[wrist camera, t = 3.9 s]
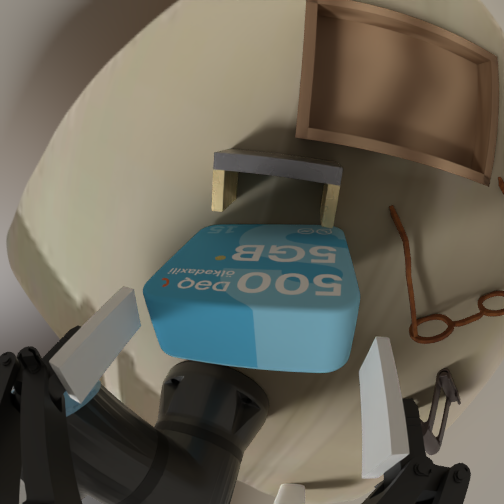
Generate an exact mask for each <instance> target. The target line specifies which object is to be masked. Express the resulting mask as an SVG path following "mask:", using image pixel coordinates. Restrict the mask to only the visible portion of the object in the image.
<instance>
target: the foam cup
mask: <svg viewBox="0 0 504 504" xmlns="http://www.w3.org/2000/svg"><path fill="white" fill-rule="evenodd" d="M274 504H305V486H304V485H300V484H293V483H287V484H282V485H281V486H280V488H279V491H278V494H277V497H276V499H275V502H274Z"/></svg>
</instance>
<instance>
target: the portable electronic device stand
mask: <svg viewBox="0 0 504 504" xmlns="http://www.w3.org/2000/svg"><path fill="white" fill-rule="evenodd" d="M441 387H442V388H443V390H444V392H445V394H446V403H445V408H444V414H443V418H442V423H441V428H440V432H439V435H438V436H437V437H435V436H434V435H433V433H432V428H433V424H434V420H435V415H436V411H437V406H438V400H439V395H440V389H441ZM455 401H457V402H458V404H459V405H460V404H461V402H460V397H459V394H458V391H457V389H456V386H455V383H454V381H453V378H452V376H451V373H450V371H449V370H448V369H442V370H440V371H439V372H438V374H437V378H436V384H435V390H434V395H433V400H432V405H431V410H430V414H429V418H428V420H427V421H426V422H423V421H422V420H421V419H420V418H419V419H420V421H421V427H422V433H423V439H424V446H425V451H426V452H427V453H428V454H429V455H433V454H436V453H437V452H438V451H439V449H440V447H441V444H442V439H443V435H444V431H445V426H446V422H447V417H448V411H449V406H450V405H451V402H455Z"/></svg>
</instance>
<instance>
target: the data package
mask: <svg viewBox="0 0 504 504" xmlns="http://www.w3.org/2000/svg"><path fill="white" fill-rule="evenodd" d="M143 295H144V298H145V301H146V305H147V308H148V311H149V314H150V318H151V321H152V324H153V327H154V330H155V333H156V336H157V338H158V341H159V344H160V347H161V349H162V350H163V351H164V352H165V353H166V354H168V355H170V356H172V357H177V358H182V359H188V360H193V361H200V362H206V363H212V364H219V365H227V366H235V367H243V368H253V369H263V370H275V371H289V372H308V373H328V372H332V371H335V370H337V369H339V368H341V367H342V366H343V365H344V364H345V363H346V362H347V361H348V359H349V356H350V352H351V347H352V342H353V337H354V332H355V327H356V321H357V316H358V310H359V304H360V291H359V287H358V283H357V279H356V275H355V271H354V267H353V263H352V260H351V256H350V252H349V249H348V245H347V242H346V238H345V235H344V232H343V231H342V230H341V229H339V228H337V227H334V226H333V228H327V227H321V225H291V224H220V225H212V226H208V227H205V228H203V229H201V230H200V231H199V232H198V233H197V234H196V235H194V236H193V237H192V238H191V239H190V240H189V241H188V242H187V243H186V244H185V245H184V246H183V247H182V248H181V249H180V250H179V251H178V252H177V253H176V254H175V255H174V256H173V257H172V258H171V259H169V260H168V261H167V262H166V263H165V264H164V265H163V266H162V267H161V268H160V269H159V270H158V271H157V272H156V273H155V274H154V275H153V276H152V277H151V278H150V279H149V280H148V281H147V283H146V284H145V285H144V288H143Z"/></svg>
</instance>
